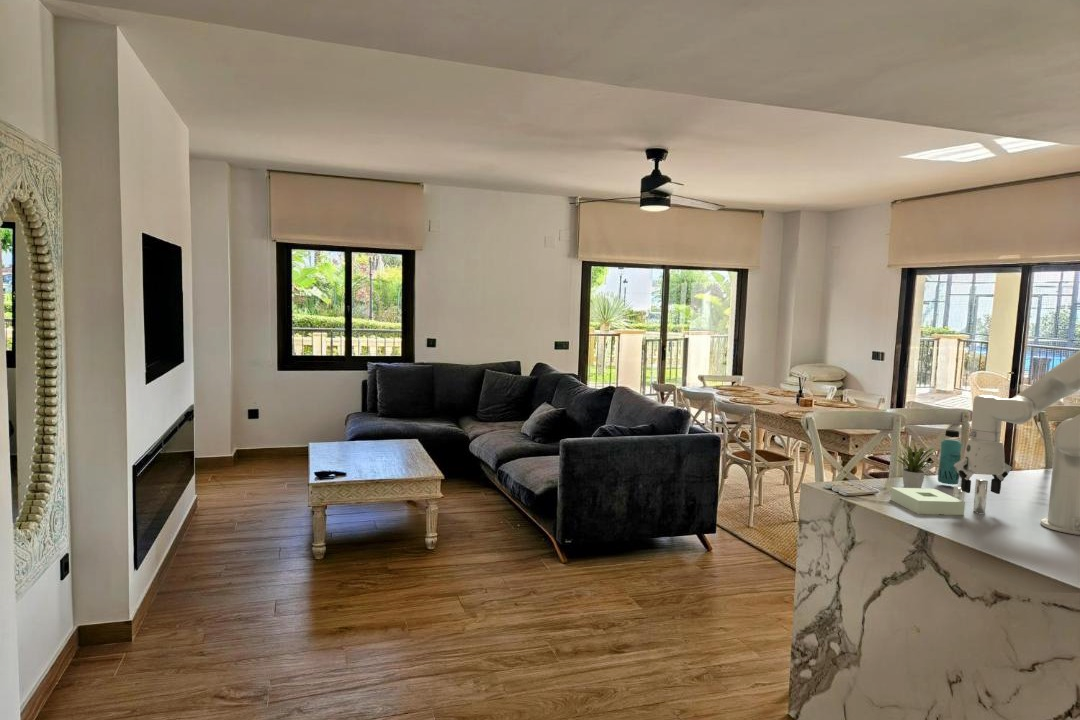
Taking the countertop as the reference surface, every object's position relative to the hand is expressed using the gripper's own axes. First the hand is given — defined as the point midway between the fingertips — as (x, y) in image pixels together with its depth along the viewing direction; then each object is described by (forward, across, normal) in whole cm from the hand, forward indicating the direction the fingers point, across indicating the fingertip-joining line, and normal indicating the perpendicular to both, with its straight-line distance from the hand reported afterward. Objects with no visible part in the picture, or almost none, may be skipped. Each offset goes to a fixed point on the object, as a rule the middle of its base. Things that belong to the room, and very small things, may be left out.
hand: (980, 492), depth 201 cm
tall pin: (+6, 0, 0) cm, 6 cm away
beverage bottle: (+7, +10, +31) cm, 33 cm away
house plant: (+7, -4, +26) cm, 27 cm away
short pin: (+6, 0, +10) cm, 12 cm away
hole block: (+6, -14, +4) cm, 16 cm away
